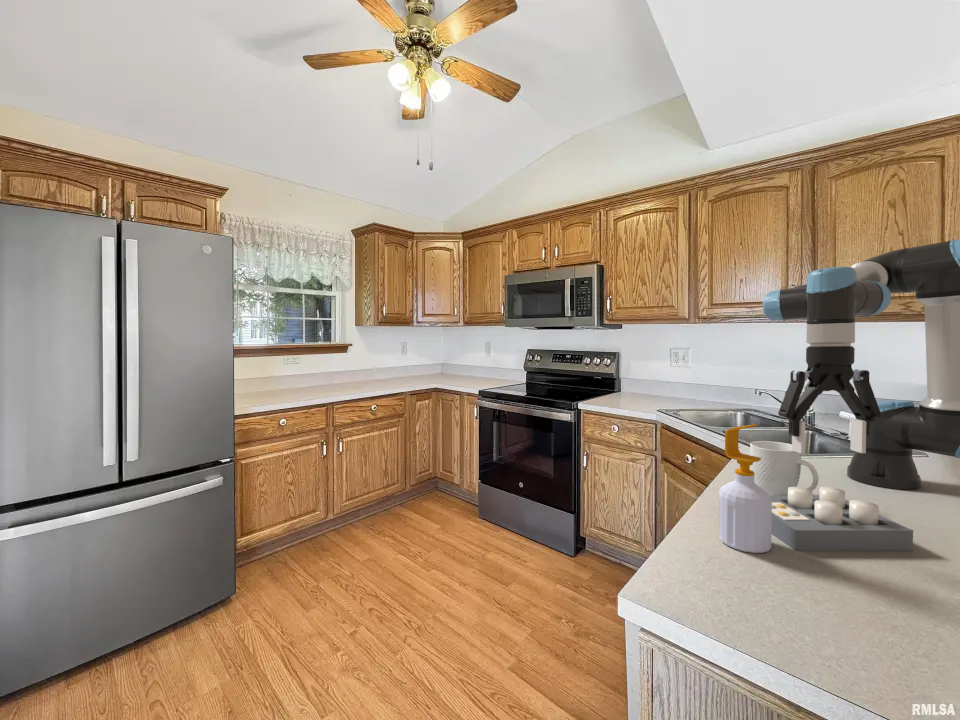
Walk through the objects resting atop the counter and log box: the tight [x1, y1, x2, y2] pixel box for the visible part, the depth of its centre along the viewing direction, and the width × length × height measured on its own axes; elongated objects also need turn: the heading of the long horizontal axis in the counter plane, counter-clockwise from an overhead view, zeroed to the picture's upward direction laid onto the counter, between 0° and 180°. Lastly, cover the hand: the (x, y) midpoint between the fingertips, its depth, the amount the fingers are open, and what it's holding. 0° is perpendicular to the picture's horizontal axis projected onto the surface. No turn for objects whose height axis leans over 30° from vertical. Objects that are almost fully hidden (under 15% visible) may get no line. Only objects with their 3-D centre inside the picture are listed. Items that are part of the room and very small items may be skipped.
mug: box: [749, 440, 819, 496], centre depth 108 cm, size 15×11×13 cm
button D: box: [814, 500, 842, 525], centre depth 85 cm, size 4×4×4 cm
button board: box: [770, 495, 914, 552], centre depth 89 cm, size 22×18×4 cm
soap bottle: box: [718, 423, 772, 554], centre depth 84 cm, size 9×9×25 cm
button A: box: [818, 486, 846, 509], centre depth 93 cm, size 4×4×4 cm
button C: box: [788, 486, 814, 509], centre depth 93 cm, size 4×4×4 cm
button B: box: [848, 499, 879, 525], centre depth 85 cm, size 4×4×4 cm
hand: (828, 451), depth 85 cm, fingers open, 11 cm apart
